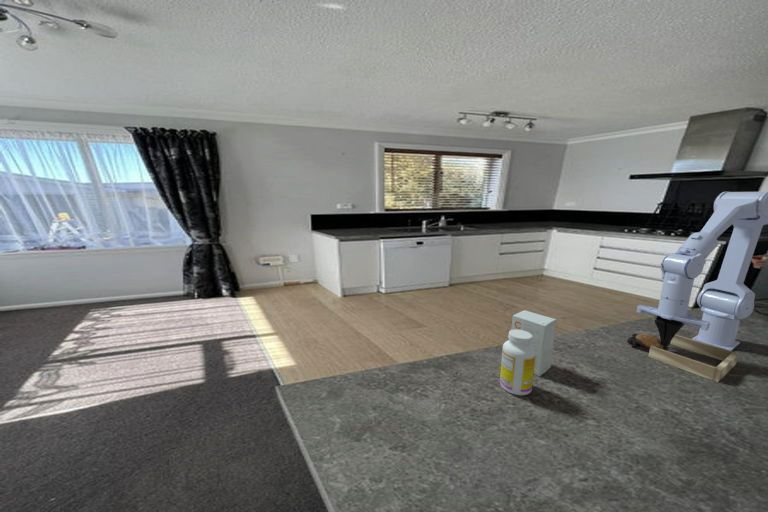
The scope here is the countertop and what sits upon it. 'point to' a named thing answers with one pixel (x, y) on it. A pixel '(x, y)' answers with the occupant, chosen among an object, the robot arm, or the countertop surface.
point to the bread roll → (644, 342)
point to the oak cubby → (693, 365)
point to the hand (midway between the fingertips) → (665, 344)
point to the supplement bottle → (518, 363)
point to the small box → (538, 337)
